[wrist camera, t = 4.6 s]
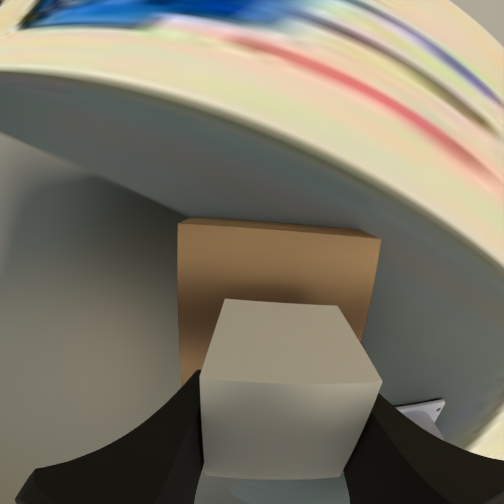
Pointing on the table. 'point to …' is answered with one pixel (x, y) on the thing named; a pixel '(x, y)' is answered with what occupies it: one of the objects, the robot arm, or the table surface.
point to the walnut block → (267, 273)
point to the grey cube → (283, 392)
